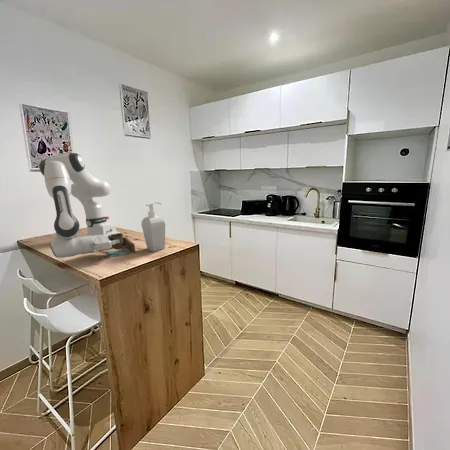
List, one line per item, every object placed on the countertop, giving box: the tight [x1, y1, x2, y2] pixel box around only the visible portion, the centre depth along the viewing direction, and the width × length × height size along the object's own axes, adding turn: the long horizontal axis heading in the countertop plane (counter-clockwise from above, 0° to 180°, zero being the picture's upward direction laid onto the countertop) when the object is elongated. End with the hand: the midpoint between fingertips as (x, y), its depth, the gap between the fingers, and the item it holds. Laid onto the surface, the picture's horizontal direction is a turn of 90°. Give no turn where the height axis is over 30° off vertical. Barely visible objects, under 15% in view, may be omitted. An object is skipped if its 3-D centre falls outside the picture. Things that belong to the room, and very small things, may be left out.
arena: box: [98, 236, 136, 259], centre depth 142 cm, size 16×20×5 cm
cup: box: [108, 232, 124, 250], centre depth 137 cm, size 8×7×8 cm
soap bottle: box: [141, 201, 166, 252], centre depth 142 cm, size 12×10×26 cm
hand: (117, 239), depth 138 cm, fingers closed on cup, 7 cm apart
